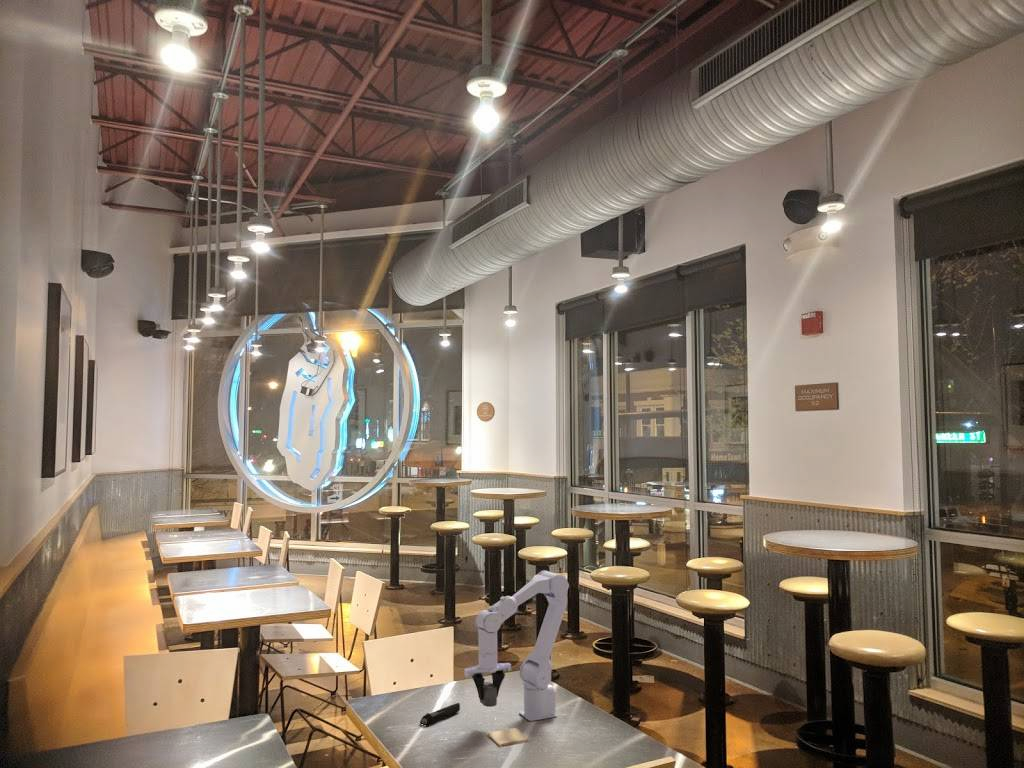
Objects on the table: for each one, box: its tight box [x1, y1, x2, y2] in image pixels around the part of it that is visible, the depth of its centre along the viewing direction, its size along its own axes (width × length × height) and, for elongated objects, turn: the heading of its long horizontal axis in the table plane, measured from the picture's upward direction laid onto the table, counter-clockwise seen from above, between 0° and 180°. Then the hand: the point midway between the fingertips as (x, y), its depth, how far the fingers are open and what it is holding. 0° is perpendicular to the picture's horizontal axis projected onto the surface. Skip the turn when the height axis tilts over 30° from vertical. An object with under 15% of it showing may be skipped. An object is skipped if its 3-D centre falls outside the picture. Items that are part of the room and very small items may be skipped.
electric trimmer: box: [419, 702, 461, 727], centre depth 232 cm, size 4×16×3 cm, turn 140°
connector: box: [479, 681, 498, 708], centre depth 226 cm, size 9×4×5 cm, turn 24°
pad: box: [487, 727, 529, 747], centre depth 216 cm, size 9×9×1 cm
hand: (488, 697), depth 225 cm, fingers closed on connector, 4 cm apart
